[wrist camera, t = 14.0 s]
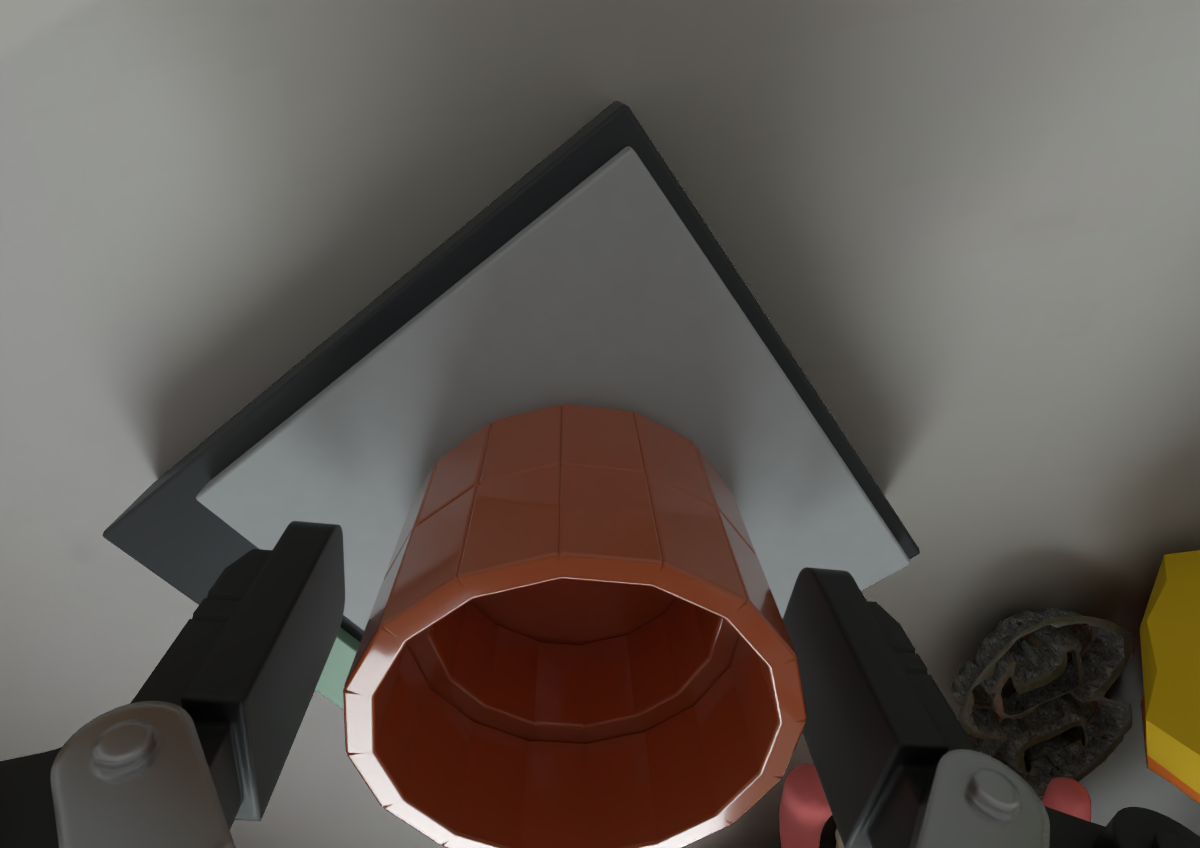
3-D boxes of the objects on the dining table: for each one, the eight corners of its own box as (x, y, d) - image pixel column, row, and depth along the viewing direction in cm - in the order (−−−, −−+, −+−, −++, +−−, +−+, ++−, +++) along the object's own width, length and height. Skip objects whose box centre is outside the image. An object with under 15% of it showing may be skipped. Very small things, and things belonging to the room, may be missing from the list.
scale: (153, 482, 15) (79, 554, 13) (617, 98, 12) (629, 103, 10) (479, 733, 19) (467, 822, 17) (883, 501, 16) (936, 572, 14)
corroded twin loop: (965, 793, 21) (987, 825, 20) (921, 640, 17) (945, 672, 17) (1113, 728, 21) (1142, 758, 20) (1101, 558, 17) (1137, 585, 16)
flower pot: (344, 515, 13) (241, 717, 9) (607, 324, 11) (630, 461, 7) (550, 692, 15) (543, 914, 11) (789, 555, 14) (881, 755, 10)
